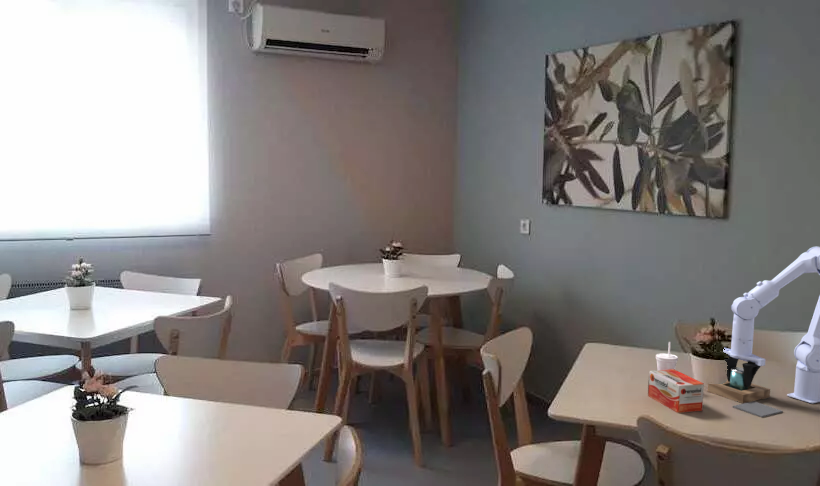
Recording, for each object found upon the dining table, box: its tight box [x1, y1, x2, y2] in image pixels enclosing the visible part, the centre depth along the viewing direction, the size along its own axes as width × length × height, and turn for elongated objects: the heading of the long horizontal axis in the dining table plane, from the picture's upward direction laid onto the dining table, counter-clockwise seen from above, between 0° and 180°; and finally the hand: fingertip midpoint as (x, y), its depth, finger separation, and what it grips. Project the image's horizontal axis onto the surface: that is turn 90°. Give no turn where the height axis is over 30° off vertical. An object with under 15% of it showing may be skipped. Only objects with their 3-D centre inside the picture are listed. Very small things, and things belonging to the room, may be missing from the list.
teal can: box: [730, 366, 748, 391], centre depth 222 cm, size 5×5×8 cm
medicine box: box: [647, 369, 705, 414], centre depth 213 cm, size 15×8×8 cm, turn 15°
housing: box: [707, 379, 771, 404], centre depth 222 cm, size 12×12×2 cm
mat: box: [732, 401, 784, 418], centre depth 209 cm, size 9×9×1 cm
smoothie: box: [655, 341, 679, 370], centre depth 227 cm, size 6×6×14 cm
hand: (739, 383), depth 222 cm, fingers closed on teal can, 5 cm apart
